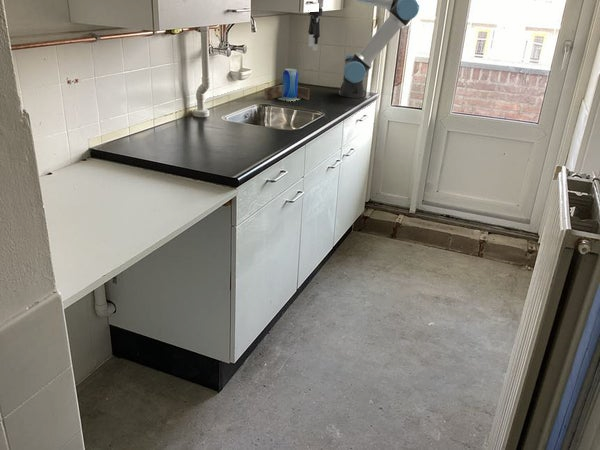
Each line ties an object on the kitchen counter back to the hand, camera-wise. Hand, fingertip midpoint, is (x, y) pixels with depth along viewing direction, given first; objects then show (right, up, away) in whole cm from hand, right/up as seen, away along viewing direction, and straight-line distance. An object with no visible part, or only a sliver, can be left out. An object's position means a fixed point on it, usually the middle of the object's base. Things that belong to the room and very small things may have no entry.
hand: (312, 48), depth 296 cm
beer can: (-13, -28, +2) cm, 31 cm away
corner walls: (-14, -28, +1) cm, 31 cm away
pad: (-13, -28, +2) cm, 31 cm away
